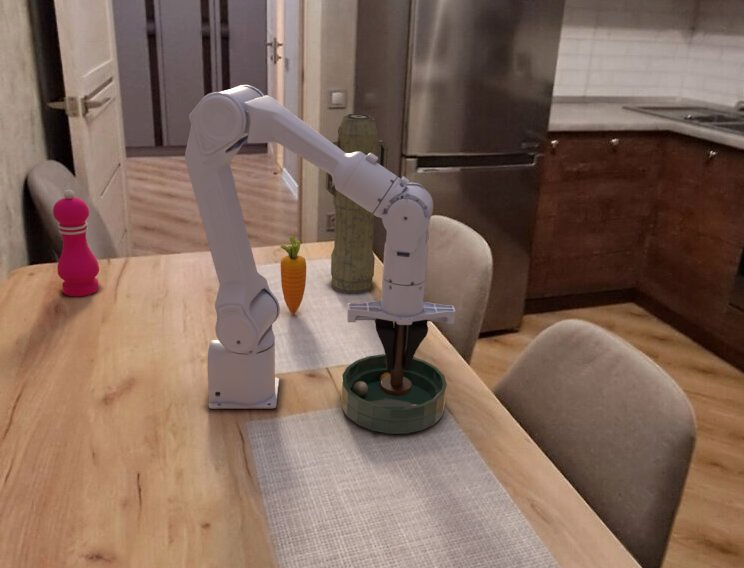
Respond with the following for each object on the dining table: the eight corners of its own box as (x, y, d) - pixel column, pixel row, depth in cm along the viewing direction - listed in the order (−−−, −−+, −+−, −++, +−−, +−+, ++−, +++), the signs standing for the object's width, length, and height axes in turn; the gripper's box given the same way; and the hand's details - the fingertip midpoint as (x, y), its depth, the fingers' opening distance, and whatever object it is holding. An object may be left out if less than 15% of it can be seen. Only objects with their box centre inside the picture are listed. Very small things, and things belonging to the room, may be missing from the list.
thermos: (317, 280, 141) (320, 112, 128) (369, 274, 146) (377, 111, 132) (331, 297, 133) (336, 120, 120) (385, 290, 138) (396, 119, 125)
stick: (381, 396, 92) (387, 306, 87) (379, 379, 96) (385, 292, 91) (412, 396, 93) (420, 306, 88) (409, 380, 97) (417, 293, 92)
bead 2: (382, 390, 101) (376, 377, 101) (383, 387, 104) (378, 374, 104) (395, 385, 101) (390, 371, 101) (397, 382, 103) (391, 369, 103)
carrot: (301, 321, 123) (302, 244, 117) (275, 317, 124) (275, 240, 118) (310, 310, 127) (311, 235, 122) (285, 306, 128) (285, 232, 122)
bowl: (342, 437, 91) (343, 409, 89) (340, 378, 105) (341, 353, 103) (451, 436, 93) (454, 408, 91) (435, 379, 107) (437, 354, 105)
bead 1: (368, 398, 99) (353, 399, 99) (369, 391, 101) (354, 391, 101) (366, 385, 98) (351, 386, 98) (367, 378, 100) (353, 379, 100)
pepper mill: (63, 284, 131) (49, 184, 123) (103, 282, 133) (92, 184, 126) (57, 299, 125) (42, 195, 117) (99, 296, 127) (87, 194, 119)
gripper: (350, 288, 84) (346, 381, 89) (463, 290, 85) (453, 382, 91) (348, 267, 90) (344, 355, 95) (453, 270, 92) (444, 356, 97)
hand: (397, 366), depth 93 cm, fingers closed on stick, 2 cm apart
